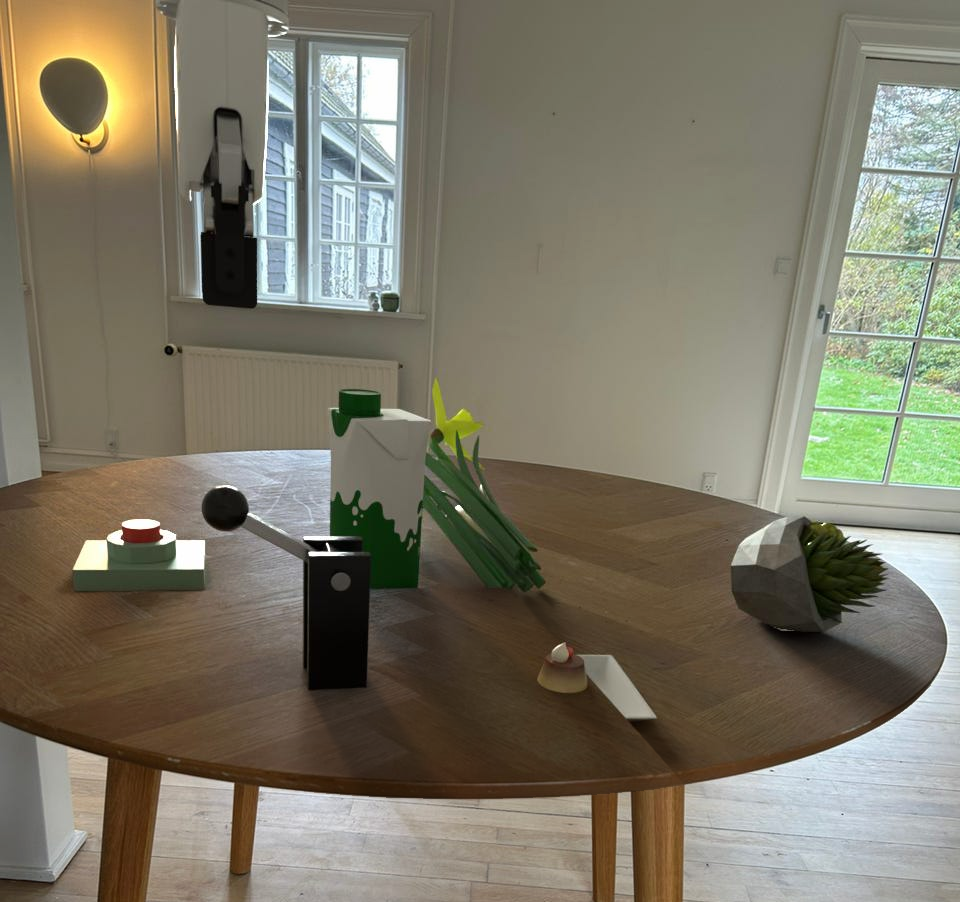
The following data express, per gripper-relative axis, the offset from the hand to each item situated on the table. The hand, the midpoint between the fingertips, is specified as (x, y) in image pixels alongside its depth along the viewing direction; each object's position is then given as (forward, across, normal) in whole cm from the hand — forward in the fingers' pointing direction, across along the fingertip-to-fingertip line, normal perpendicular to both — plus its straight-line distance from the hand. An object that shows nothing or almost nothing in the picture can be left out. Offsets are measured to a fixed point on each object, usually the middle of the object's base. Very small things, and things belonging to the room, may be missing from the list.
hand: (227, 302), depth 58 cm
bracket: (+28, +2, +8) cm, 29 cm away
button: (+25, -28, -8) cm, 38 cm away
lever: (+17, +1, +3) cm, 17 cm away
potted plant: (+28, -7, +57) cm, 64 cm away
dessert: (+28, +5, +26) cm, 38 cm away
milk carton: (+28, -22, +15) cm, 39 cm away
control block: (+28, -28, -8) cm, 40 cm away
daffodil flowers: (+28, -34, +28) cm, 52 cm away
